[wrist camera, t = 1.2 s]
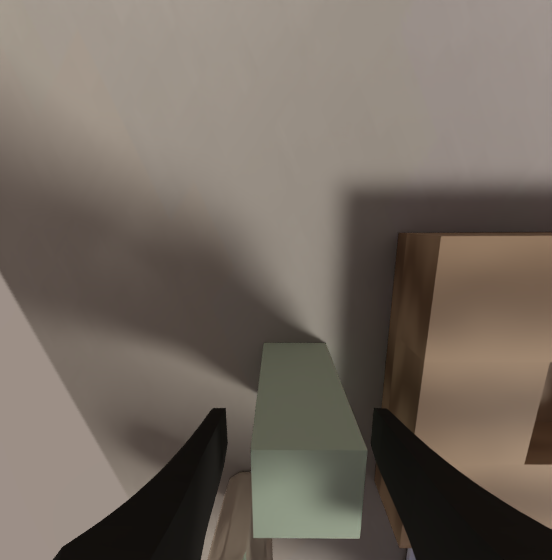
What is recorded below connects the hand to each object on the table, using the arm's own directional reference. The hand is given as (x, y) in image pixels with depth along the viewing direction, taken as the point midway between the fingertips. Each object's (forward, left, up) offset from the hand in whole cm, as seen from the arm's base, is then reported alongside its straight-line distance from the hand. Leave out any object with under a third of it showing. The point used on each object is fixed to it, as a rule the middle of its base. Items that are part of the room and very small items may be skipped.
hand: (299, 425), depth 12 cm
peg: (0, 0, -5) cm, 5 cm away
